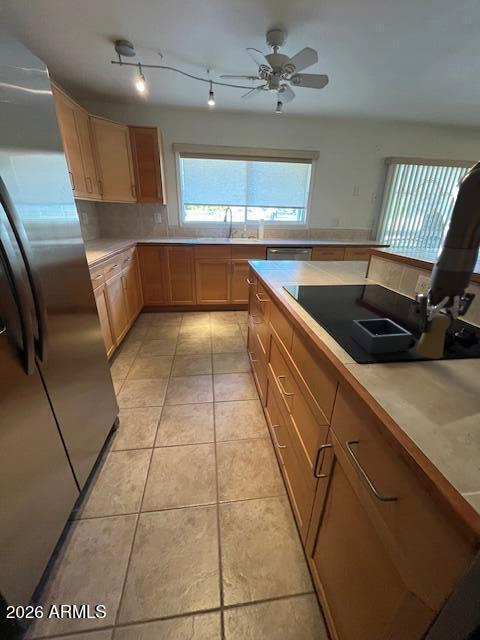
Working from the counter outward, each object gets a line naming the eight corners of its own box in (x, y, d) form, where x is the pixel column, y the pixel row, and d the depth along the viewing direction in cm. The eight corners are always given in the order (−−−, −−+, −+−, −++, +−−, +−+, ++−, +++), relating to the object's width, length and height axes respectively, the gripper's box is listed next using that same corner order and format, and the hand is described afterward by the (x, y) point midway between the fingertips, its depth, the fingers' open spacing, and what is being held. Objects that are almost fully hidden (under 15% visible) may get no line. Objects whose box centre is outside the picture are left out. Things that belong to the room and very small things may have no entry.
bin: (383, 333, 86) (387, 318, 84) (407, 351, 76) (412, 334, 73) (350, 336, 85) (352, 320, 83) (369, 354, 75) (373, 337, 73)
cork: (409, 349, 72) (419, 312, 68) (426, 345, 74) (437, 309, 69) (430, 360, 67) (441, 321, 62) (448, 356, 68) (460, 317, 64)
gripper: (437, 271, 57) (418, 340, 64) (498, 268, 58) (473, 336, 65) (413, 264, 64) (398, 327, 71) (468, 261, 65) (449, 323, 72)
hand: (434, 331), depth 68 cm, fingers closed on cork, 5 cm apart
